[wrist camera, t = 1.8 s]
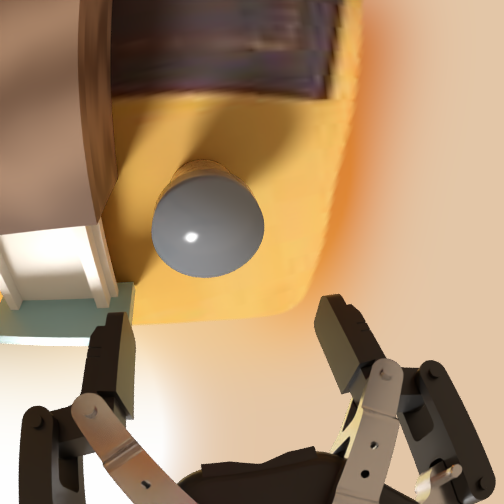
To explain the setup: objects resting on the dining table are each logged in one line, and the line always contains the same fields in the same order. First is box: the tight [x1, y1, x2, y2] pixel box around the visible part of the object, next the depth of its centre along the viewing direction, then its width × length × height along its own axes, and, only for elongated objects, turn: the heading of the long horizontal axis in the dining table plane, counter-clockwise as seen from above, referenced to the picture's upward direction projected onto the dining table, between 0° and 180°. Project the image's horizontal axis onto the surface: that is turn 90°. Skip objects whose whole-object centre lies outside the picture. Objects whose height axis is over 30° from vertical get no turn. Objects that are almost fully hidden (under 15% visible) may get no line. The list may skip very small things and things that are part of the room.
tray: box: [0, 217, 135, 346], centre depth 17 cm, size 17×14×6 cm
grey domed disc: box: [152, 169, 264, 278], centre depth 18 cm, size 6×6×2 cm
